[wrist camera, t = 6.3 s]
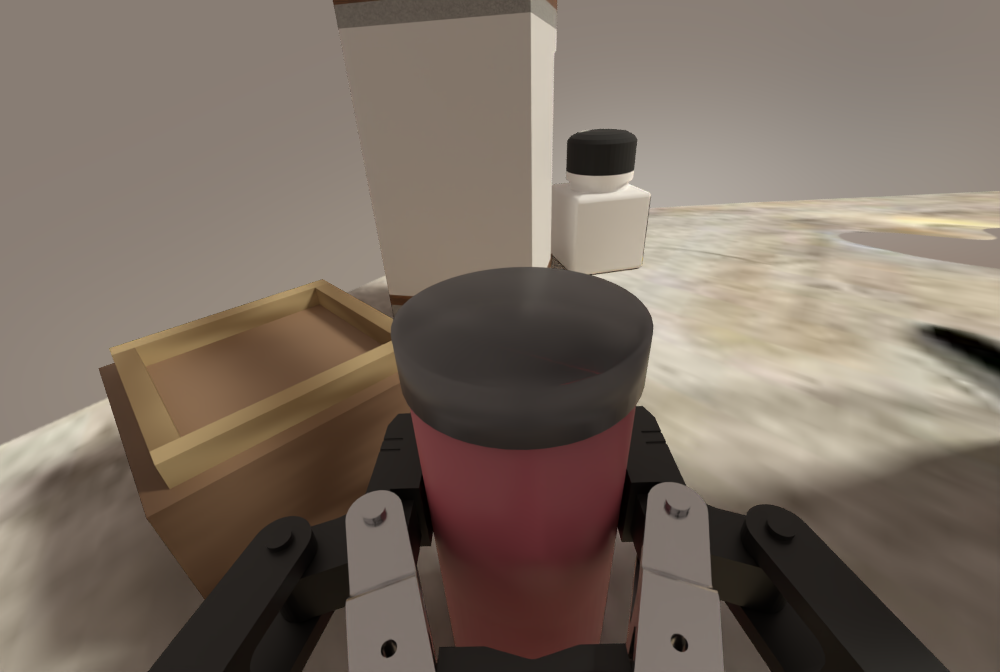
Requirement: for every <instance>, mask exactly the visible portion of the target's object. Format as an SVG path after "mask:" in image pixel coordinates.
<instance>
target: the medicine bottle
mask: <svg viewBox="0 0 1000 672" xmlns="http://www.w3.org/2000/svg"><path fill="white" fill-rule="evenodd" d="M636 146H637V138H636V137H635V135H634V134H632V133H630V132H628V131H626V130H617V129H595V130H586V131H580V132H577V133H576V134H574V135H572V136H571V137H570V138H569V139H568V141H567V168H566V180H568V181H569V183H561V184H554V185H552V206H551V254H552V255H553V256H554V257H555V258H556V259H557V260H558V261H559V262H560V263H561V264H562V265H563V266H564V267H565V268H566V269H567V270H570V271H575V272H580V273H584V274H588V275H589V274H596V273H604V272H611V271H618V270H626V269H633V268H639V267H641V265H642V261H643V253H644V246H645V238H646V230H647V223H648V215H649V208H650V199H651V194H650V193H649V192H647V191H645V190H643V189H640V188H637V187H635V186H632V185H630V184H629V181H631V180H632V179H633V174H634V164H635V155H636Z"/></svg>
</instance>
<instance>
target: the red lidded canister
mask: <svg viewBox="0 0 1000 672" xmlns="http://www.w3.org/2000/svg"><path fill="white" fill-rule="evenodd" d="M652 335H653V322H652V317H651V315H650V313H649V311H648V309H647V308H646V307H645V305H644V304H643V303H642V302H641V301H640V300H639V299H638V298H637V297H636V296H634V295H633V294H632V293H630V292H629V291H627V290H626V289H624V288H622V287H620V286H618V285H616V284H614V283H612V282H609V281H607V280H605V279H601V278H598V277H595V276H592V275H588V274H584V273H580V272H575V271H570V270H564V269H556V268H545V267H508V268H497V269H489V270H482V271H476V272H472V273H467V274H463V275H460V276H456V277H453V278H450V279H447V280H444V281H441V282H439V283H437V284H434V285H432V286H430V287H428V288H426V289H424V290H422V291H420V292H419V293H417V294H416V295H414V296H413V297H412V298H410V299H409V300H408V301H407V302H406V303H405V304H404V305H403V306H402V307H401V308H400V309H399V310H398V312H397V313H396V315H395V317H394V319H393V322H392V325H391V339H392V344H393V350H394V355H395V360H396V365H397V370H398V375H399V380H400V385H401V389H402V394H403V396H404V398H405V400H406V402H407V404H408V406H409V407H410V411H411V416H412V422H413V427H414V432H415V437H416V443H417V448H418V453H419V458H420V464H421V469H422V474H423V480H424V485H425V490H426V495H427V501H428V506H429V511H430V516H431V522H432V527H433V532H434V537H435V543H436V548H437V553H438V559H439V564H440V569H441V574H442V580H443V585H444V590H445V595H446V601H447V606H448V611H449V616H450V622H451V627H452V632H453V637H454V643H455V647H475V646H485V647H489V648H492V649H496V650H499V651H503V652H506V653H510V654H513V655H517V656H520V657H524V658H527V659H537V658H540V657H543V656H546V655H549V654H552V653H555V652H558V651H561V650H564V649H567V648H570V647H573V646H576V645H579V644H600V639H601V633H602V626H603V619H604V613H605V606H606V600H607V593H608V586H609V580H610V573H611V567H612V560H613V554H614V547H615V540H616V534H617V527H618V521H619V514H620V508H621V501H622V494H623V488H624V481H625V475H626V468H627V462H628V455H629V448H630V442H631V435H632V429H633V422H634V415H635V409H636V404H637V402H638V401H639V399H640V397H641V395H642V392H643V389H644V385H645V379H646V373H647V367H648V360H649V354H650V348H651V342H652Z"/></svg>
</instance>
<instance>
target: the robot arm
mask: <svg viewBox="0 0 1000 672" xmlns="http://www.w3.org/2000/svg"><path fill="white" fill-rule="evenodd" d="M618 530H619V534H620V538H621V542H634V546H635V549H636V553H637V555H636V560H635V567H634V576H633V586H632V595H631V605H630V614H629V624H628V632H627V640H626V643H625V644H579V645H576V646H573V647H570V648H567V649H564V650H561V651H558V652H555V653H552V654H549V655H546V656H543V657H540V658H537V659H527V658H524V657H520V656H517V655H513V654H510V653H506V652H503V651H499V650H496V649H492V648H489V647H485V646H475V647H439V655H438V662H437V658H436V653H435V649H434V644H433V640H432V635H431V631H430V626H429V621H428V616H427V611H426V607H425V602H424V597H423V592H422V587H421V582H420V578H419V573H418V568H417V561H418V555H419V550H420V546H431V542H432V535H433V527H432V522H431V516H430V511H429V506H428V501H427V495H426V490H425V485H424V480H423V474H422V469H421V464H420V458H419V453H418V448H417V443H416V437H415V432H414V427H413V422H412V416H411V412H410V413H403V414H398V415H397V416H396V417H395V418H394V419H393V420H392V421H391V422H390V424H389V425H388V427H387V430H386V433H385V436H384V441H383V442H382V445H381V448H380V452H379V454H378V457H377V460H376V463H375V467H374V470H373V473H372V476H371V479H370V482H369V485H368V488H367V491H366V494H365V495H363V496H362V497H360V498H359V499H357V500H356V501H355V502H354V503H353V504H352V505H351V507H350V508H349V510H348V512H347V514H345V515H343V516H341V517H339V518H336V519H333V520H330V521H327V522H324V523H321V524H317V525H314V526H310V524H309V522H308V521H307V520H306V519H304V518H302V517H299V516H288V517H283V518H280V519H278V520H275V521H273V522H272V523H270V524H268V525H267V526H265V527H264V528H263V529H262V530H261V531H260V532H259V533H258V534H257V535H256V536H255V537H254V539H253V540H252V541H251V542H250V544H249V545H248V546H247V547H246V549H245V550H244V551H243V552H242V554H241V555H240V556H239V558H238V559H237V560H236V561H235V563H234V564H233V565H232V566H231V568H230V569H229V570H228V571H227V573H226V574H225V575H224V576H223V578H222V579H221V580H220V581H219V583H218V584H217V585H216V586H215V588H214V589H213V590H212V592H211V593H210V594H209V595H208V597H207V598H206V599H205V600H204V602H203V603H202V604H201V605H200V607H199V608H198V609H197V610H196V612H195V613H194V614H193V615H192V617H191V618H190V619H189V620H188V622H187V623H186V624H185V626H184V627H183V628H182V629H181V631H180V632H179V633H178V634H177V636H176V637H175V638H174V639H173V641H172V642H171V643H170V644H169V646H168V647H167V648H166V649H165V651H164V652H163V653H162V654H161V656H160V657H159V658H158V660H157V661H156V662H155V663H154V665H153V666H152V667H151V668H150V670H149V671H148V672H302V670H303V668H304V667H305V665H306V663H307V661H308V659H309V657H310V655H311V653H312V652H313V650H314V648H315V646H316V644H317V642H318V640H319V639H320V637H321V635H322V633H323V631H324V629H325V627H326V626H327V624H328V622H329V620H330V618H331V616H332V614H333V612H334V611H335V610H336V609H339V608H342V607H344V606H346V629H347V648H348V667H349V672H724V662H723V646H722V630H721V614H720V600H723V601H725V603H726V604H727V606H728V607H729V609H730V610H731V612H732V613H733V615H734V616H735V618H736V619H737V621H738V622H739V624H740V625H741V627H742V628H743V630H744V631H745V633H746V634H747V636H748V637H749V639H750V640H751V642H752V643H753V645H754V646H755V648H756V649H757V651H758V652H759V654H760V655H761V657H762V658H763V660H764V661H765V663H766V664H767V666H768V667H769V669H770V670H771V672H950V671H949V670H948V669H947V668H946V667H945V666H944V665H943V664H942V663H941V662H940V661H939V660H938V659H937V658H936V657H935V656H934V655H933V654H932V653H931V652H930V651H929V650H928V649H927V648H926V647H925V646H924V645H923V644H922V642H921V641H920V640H919V639H918V638H917V637H916V636H915V635H914V634H913V633H912V632H911V631H910V630H909V629H908V628H907V627H906V626H905V625H904V624H903V623H902V622H901V621H900V620H899V619H898V618H897V617H896V616H895V615H894V614H893V613H892V612H891V611H890V610H889V609H888V608H887V607H886V605H885V604H884V603H883V602H882V601H881V600H880V599H879V598H878V597H877V596H876V595H875V594H874V593H873V592H872V591H871V590H870V589H869V588H868V587H867V586H866V585H865V584H864V583H863V582H862V581H861V580H860V579H859V578H858V577H857V576H856V575H855V574H854V573H853V572H852V571H851V570H850V568H849V567H848V566H847V565H846V564H845V563H844V562H843V561H842V560H841V559H840V558H839V557H838V556H837V555H836V554H835V553H834V552H833V551H832V550H831V549H830V548H829V547H828V546H827V545H826V544H825V543H824V542H823V541H822V540H821V539H820V538H819V537H818V536H817V535H816V534H815V533H814V531H813V530H812V529H811V528H810V527H809V526H808V525H807V524H806V523H805V522H804V521H803V520H801V519H800V518H799V517H798V516H796V515H795V514H793V513H792V512H790V511H788V510H786V509H784V508H781V507H778V506H774V505H767V504H765V505H757V506H754V507H752V508H751V509H750V510H749V511H748V512H747V515H742V514H738V513H733V512H729V511H725V510H721V509H718V508H715V507H712V506H710V505H708V504H706V503H705V502H704V500H703V499H702V497H701V496H700V495H699V494H698V493H697V492H695V491H694V490H692V489H691V488H689V487H687V486H686V484H685V482H684V480H683V478H682V476H681V474H680V471H679V469H678V467H677V465H676V463H675V461H674V458H673V456H672V454H671V452H670V450H669V447H668V445H667V444H666V441H665V439H664V436H663V434H662V433H661V430H660V428H659V426H658V423H657V421H656V419H655V417H654V416H653V415H652V414H651V413H650V412H648V411H647V410H646V409H645V408H644V407H643V406H636V409H635V415H634V422H633V429H632V435H631V442H630V448H629V455H628V462H627V468H626V475H625V481H624V488H623V494H622V501H621V508H620V514H619V521H618Z"/></svg>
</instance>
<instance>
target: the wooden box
mask: <svg viewBox="0 0 1000 672" xmlns="http://www.w3.org/2000/svg"><path fill="white" fill-rule="evenodd" d="M392 322H393V319H392V318H390V317H389V316H387V315H385V314H383V313H382V312H380V311H378V310H376V309H374V308H373V307H371V306H369V305H367V304H366V303H364V302H362V301H360V300H358V299H357V298H355V297H353V296H351V295H350V294H348V293H346V292H344V291H342V290H341V289H339V288H337V287H335V286H334V285H332V284H330V283H328V282H327V281H325V280H323V279H322V280H319V281H315V282H312V283H309V284H306V285H303V286H300V287H297V288H294V289H291V290H288V291H285V292H282V293H278V294H276V295H272V296H269V297H266V298H263V299H260V300H257V301H254V302H251V303H248V304H244V305H241V306H238V307H235V308H232V309H229V310H226V311H223V312H220V313H217V314H214V315H211V316H207V317H204V318H201V319H198V320H195V321H192V322H189V323H186V324H183V325H180V326H177V327H174V328H170V329H167V330H164V331H161V332H158V333H155V334H152V335H149V336H146V337H143V338H139V339H136V340H133V341H131V342H127V343H124V344H121V345H118V346H115V347H112V348H109V349H110V352H111V355H112V357H113V360H114V362H115V363H113V364H110V365H107V366H104V367H101V368H99V371H100V374H101V377H102V381H103V383H104V387H105V390H106V393H107V396H108V399H109V402H110V406H111V409H112V412H113V415H114V418H115V421H116V424H117V427H118V431H119V434H120V437H121V440H122V443H123V446H124V449H125V452H126V456H127V459H128V462H129V465H130V468H131V471H132V474H133V477H134V481H135V484H136V487H137V490H138V493H139V496H140V499H141V502H142V506H143V509H144V512H145V515H146V518H147V519H148V521H149V522H150V524H151V525H152V526H153V528H154V529H155V531H156V532H157V533H158V535H159V536H160V538H161V539H162V540H163V542H164V543H165V545H166V546H167V547H168V549H169V550H170V552H171V553H172V554H173V556H174V557H175V558H176V560H177V561H178V563H179V564H180V565H181V567H182V568H183V570H184V571H185V572H186V574H187V575H188V577H189V578H190V579H191V581H192V582H193V584H194V585H195V586H196V588H197V589H198V591H199V592H200V593H201V595H202V596H203V598H204V599H206V598H207V597H208V595H209V594H210V593H211V592H212V590H213V589H214V588H215V586H216V585H217V584H218V583H219V581H220V580H221V579H222V578H223V576H224V575H225V574H226V573H227V571H228V570H229V569H230V568H231V566H232V565H233V564H234V563H235V561H236V560H237V559H238V558H239V556H240V555H241V554H242V552H243V551H244V550H245V549H246V547H247V546H248V545H249V544H250V542H251V541H252V540H253V539H254V537H255V536H256V535H257V534H258V533H259V532H260V531H261V530H262V529H263V528H264V527H265V526H267V525H268V524H270V523H272V522H273V521H275V520H278V519H280V518H283V517H288V516H299V517H302V518H304V519H306V520H307V521H308V522H309V524H310V526H314V525H317V524H321V523H324V522H327V521H330V520H333V519H336V518H339V517H341V516H343V515H345V514H347V512H348V510H349V508H350V507H351V505H352V504H353V503H354V502H355V501H356V500H357V499H359V498H360V497H362V496H363V495H365V494H366V491H367V488H368V485H369V482H370V479H371V476H372V473H373V470H374V467H375V463H376V460H377V457H378V454H379V452H380V448H381V445H382V442H383V441H384V436H385V433H386V430H387V427H388V425H389V424H390V422H391V421H392V420H393V419H394V418H395V417H396V416H397V415H398V414H403V413H410V412H411V411H410V407H409V406H408V404H407V402H406V400H405V398H404V396H403V394H402V389H401V385H400V380H399V375H398V370H397V365H396V360H395V355H394V350H393V344H392V339H391V325H392Z"/></svg>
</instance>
